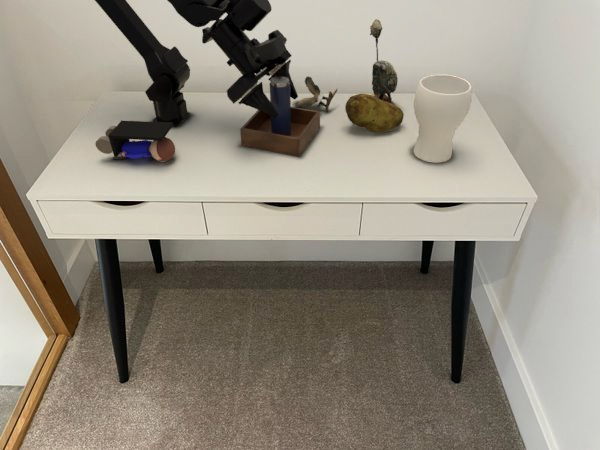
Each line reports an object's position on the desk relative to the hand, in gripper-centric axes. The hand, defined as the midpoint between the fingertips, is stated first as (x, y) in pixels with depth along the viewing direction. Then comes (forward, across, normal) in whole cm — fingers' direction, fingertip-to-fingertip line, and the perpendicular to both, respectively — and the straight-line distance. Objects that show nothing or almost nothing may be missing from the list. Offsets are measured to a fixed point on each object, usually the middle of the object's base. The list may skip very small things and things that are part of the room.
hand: (287, 106), depth 105 cm
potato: (+16, +12, -6) cm, 21 cm away
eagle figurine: (+5, +16, +6) cm, 18 cm away
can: (+4, 0, +6) cm, 7 cm away
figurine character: (-12, -20, +22) cm, 32 cm away
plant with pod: (+15, +22, -4) cm, 27 cm away
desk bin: (+4, 0, +6) cm, 7 cm away
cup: (+27, +7, -16) cm, 32 cm away
